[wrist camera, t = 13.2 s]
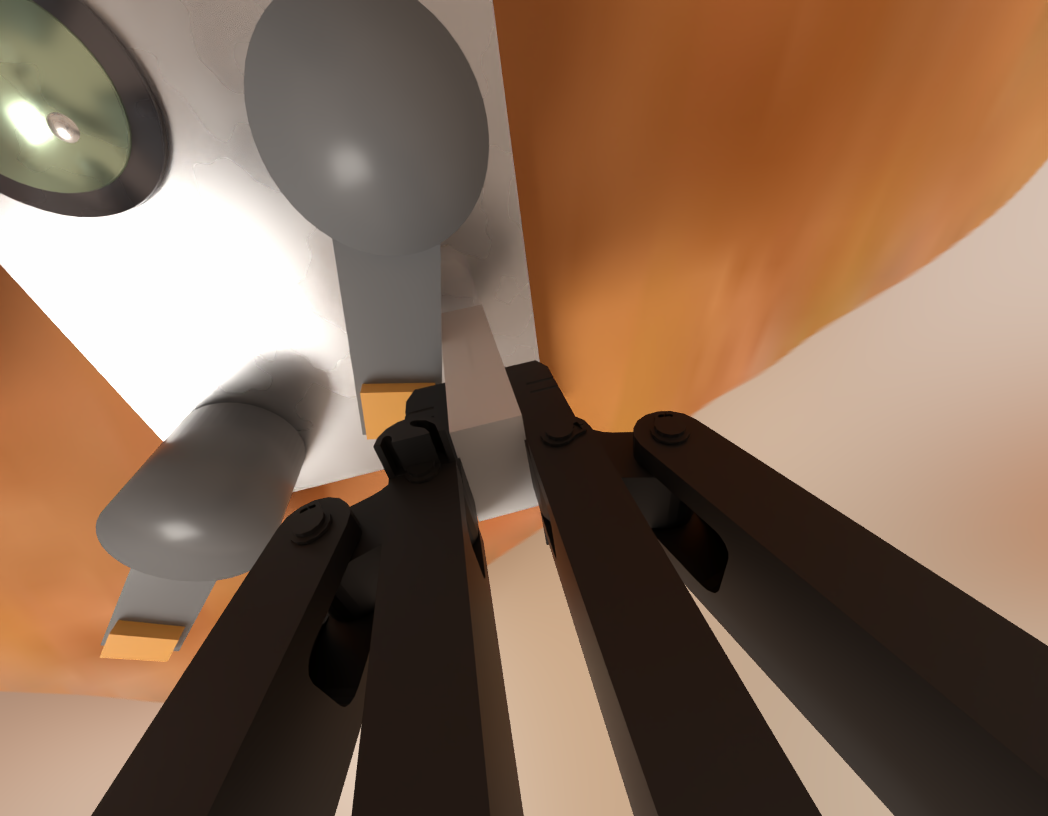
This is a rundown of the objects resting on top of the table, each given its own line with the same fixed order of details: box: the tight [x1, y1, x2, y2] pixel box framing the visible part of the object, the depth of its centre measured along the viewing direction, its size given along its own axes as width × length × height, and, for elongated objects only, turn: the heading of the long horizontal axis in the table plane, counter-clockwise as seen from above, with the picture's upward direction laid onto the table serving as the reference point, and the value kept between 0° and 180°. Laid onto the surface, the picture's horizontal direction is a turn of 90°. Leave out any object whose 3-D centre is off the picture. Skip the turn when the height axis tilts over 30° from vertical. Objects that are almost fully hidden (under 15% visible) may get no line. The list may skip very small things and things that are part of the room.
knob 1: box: [96, 403, 306, 662], centre depth 15 cm, size 10×4×4 cm, turn 143°
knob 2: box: [244, 0, 489, 440], centre depth 11 cm, size 10×4×4 cm, turn 174°
